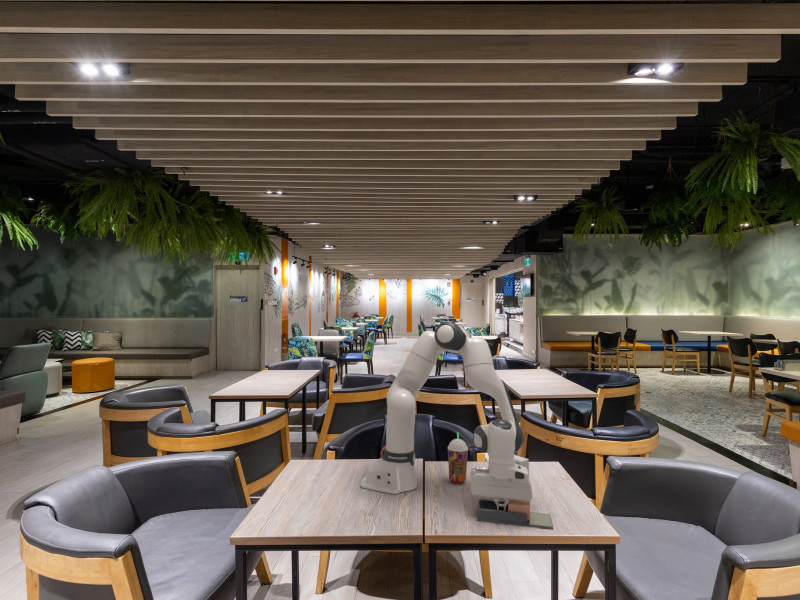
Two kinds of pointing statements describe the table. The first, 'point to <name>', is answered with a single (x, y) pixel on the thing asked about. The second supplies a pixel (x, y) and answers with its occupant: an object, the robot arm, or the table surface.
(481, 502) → the chute
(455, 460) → the smoothie
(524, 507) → the block
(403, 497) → the table surface
